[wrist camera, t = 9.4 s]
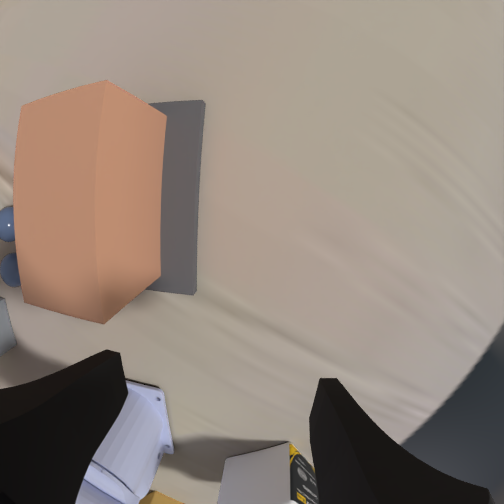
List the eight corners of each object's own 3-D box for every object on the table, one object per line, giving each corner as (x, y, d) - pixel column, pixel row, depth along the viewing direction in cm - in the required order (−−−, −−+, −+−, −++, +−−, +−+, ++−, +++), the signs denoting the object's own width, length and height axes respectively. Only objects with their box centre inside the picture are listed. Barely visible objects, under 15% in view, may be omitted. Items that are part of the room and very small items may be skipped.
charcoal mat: (196, 291, 18) (193, 295, 17) (76, 274, 19) (70, 277, 18) (205, 103, 16) (202, 100, 15) (78, 117, 16) (72, 116, 15)
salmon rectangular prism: (160, 275, 17) (103, 324, 11) (91, 267, 18) (24, 302, 11) (167, 115, 15) (106, 80, 8) (93, 124, 15) (21, 105, 9)
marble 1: (31, 239, 19) (7, 246, 16) (13, 237, 19) (-10, 244, 16) (29, 204, 18) (5, 208, 15) (11, 205, 18) (-12, 208, 15)
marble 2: (36, 283, 19) (14, 294, 17) (18, 279, 20) (-3, 288, 17) (32, 250, 19) (8, 258, 16) (14, 248, 19) (-8, 255, 16)
